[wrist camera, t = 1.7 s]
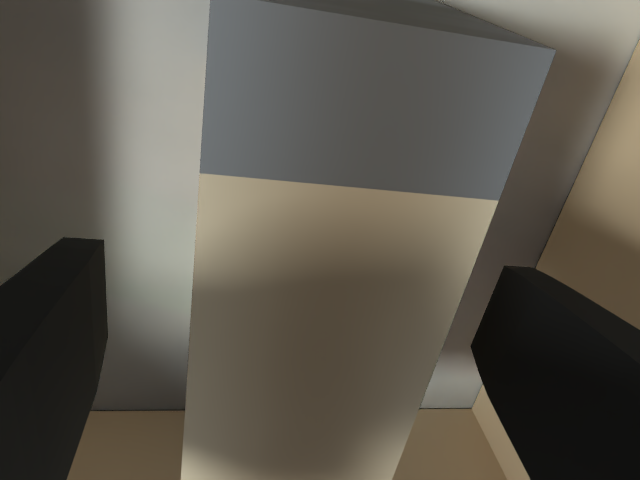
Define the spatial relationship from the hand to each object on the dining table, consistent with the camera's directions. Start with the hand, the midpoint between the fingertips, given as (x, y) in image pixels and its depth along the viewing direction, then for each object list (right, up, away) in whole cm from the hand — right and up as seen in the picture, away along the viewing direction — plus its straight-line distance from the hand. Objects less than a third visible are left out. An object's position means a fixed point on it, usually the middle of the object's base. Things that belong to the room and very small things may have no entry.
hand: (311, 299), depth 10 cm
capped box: (-1, +2, +4) cm, 5 cm away
